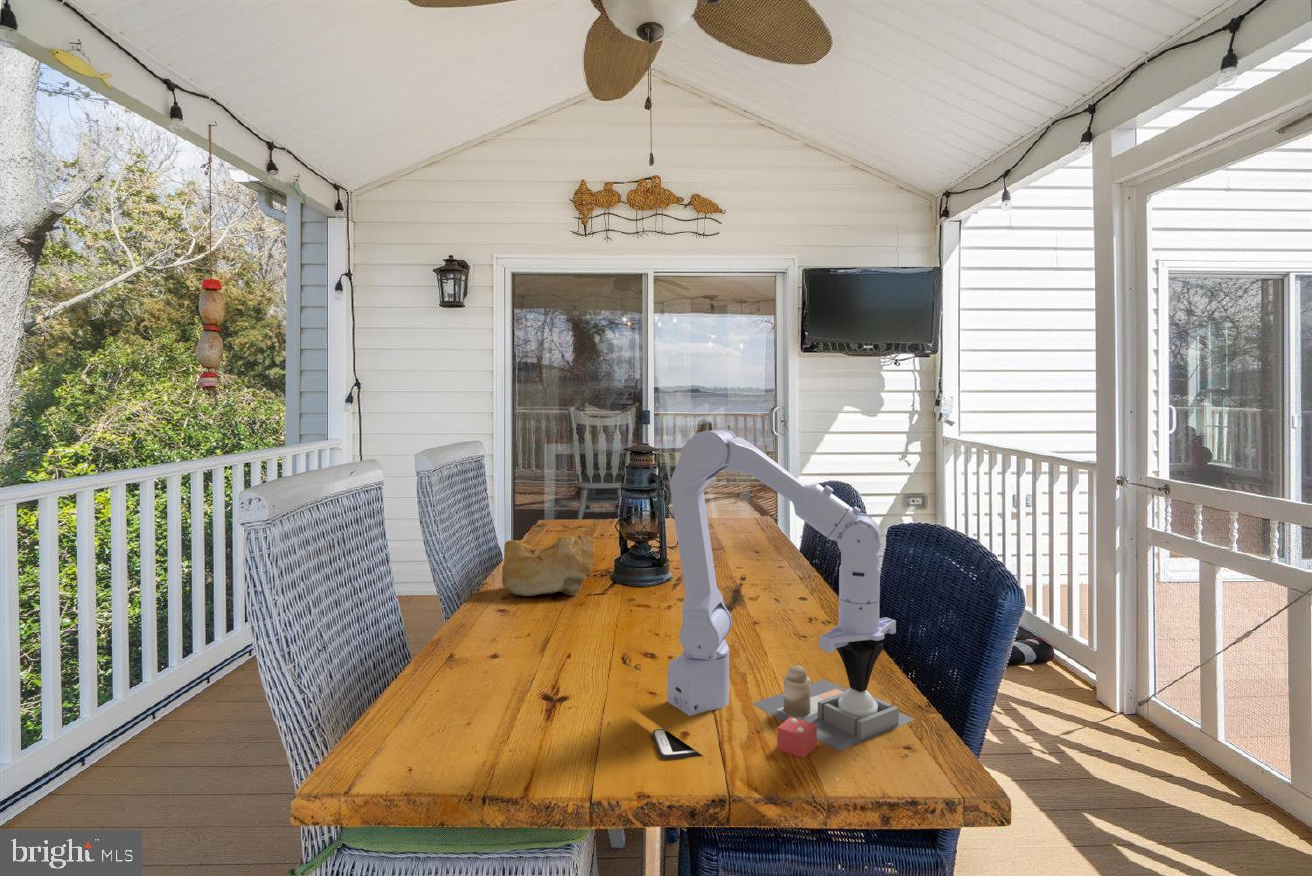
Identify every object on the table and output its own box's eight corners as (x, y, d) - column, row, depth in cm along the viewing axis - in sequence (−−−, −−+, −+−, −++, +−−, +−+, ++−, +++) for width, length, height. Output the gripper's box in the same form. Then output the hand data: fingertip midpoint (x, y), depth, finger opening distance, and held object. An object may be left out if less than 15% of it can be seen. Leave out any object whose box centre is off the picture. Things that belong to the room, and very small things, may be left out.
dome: (860, 731, 101) (860, 699, 100) (830, 716, 105) (830, 686, 105) (885, 720, 104) (886, 690, 103) (855, 707, 108) (855, 677, 108)
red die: (804, 765, 94) (804, 733, 94) (777, 756, 96) (777, 724, 96) (816, 752, 97) (816, 721, 97) (790, 744, 100) (790, 714, 99)
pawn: (796, 719, 105) (797, 672, 105) (778, 709, 108) (778, 664, 108) (815, 712, 107) (816, 667, 107) (796, 703, 111) (797, 659, 110)
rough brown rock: (604, 586, 186) (603, 529, 187) (592, 599, 170) (591, 536, 170) (519, 587, 188) (517, 531, 189) (499, 600, 172) (497, 538, 172)
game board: (839, 758, 96) (839, 733, 96) (751, 709, 111) (751, 688, 111) (915, 726, 105) (915, 703, 105) (824, 685, 120) (824, 665, 120)
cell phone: (651, 736, 103) (651, 729, 103) (747, 726, 106) (747, 720, 106) (661, 763, 96) (661, 756, 96) (764, 752, 98) (764, 745, 98)
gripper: (846, 614, 96) (845, 711, 97) (913, 596, 104) (912, 686, 105) (808, 601, 102) (808, 693, 103) (874, 586, 110) (873, 671, 111)
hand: (858, 688), depth 104 cm, fingers closed, pressing on dome
